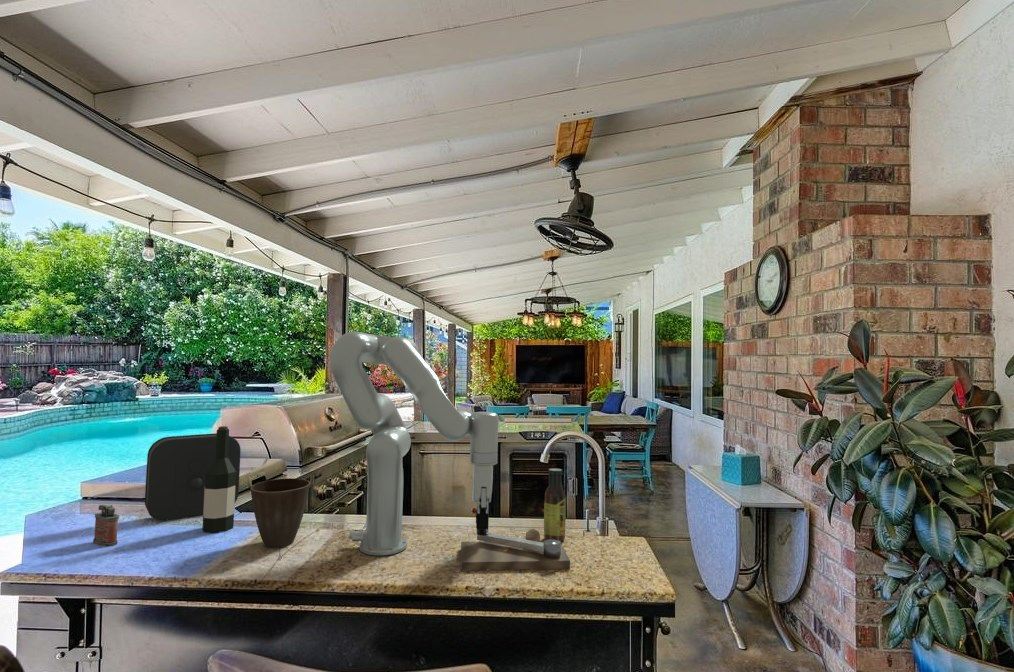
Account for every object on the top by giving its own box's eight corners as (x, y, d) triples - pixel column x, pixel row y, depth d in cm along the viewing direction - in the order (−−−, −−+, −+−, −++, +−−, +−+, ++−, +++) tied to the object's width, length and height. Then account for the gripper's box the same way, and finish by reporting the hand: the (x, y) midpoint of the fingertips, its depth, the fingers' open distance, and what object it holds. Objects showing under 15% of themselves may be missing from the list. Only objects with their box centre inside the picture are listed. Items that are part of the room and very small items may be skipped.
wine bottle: (239, 527, 149) (244, 426, 150) (210, 535, 142) (216, 429, 143) (224, 522, 153) (229, 424, 155) (195, 529, 146) (201, 426, 148)
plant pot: (284, 556, 127) (287, 493, 128) (234, 550, 131) (237, 489, 132) (318, 537, 142) (320, 480, 143) (273, 532, 145) (275, 476, 146)
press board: (460, 570, 121) (461, 545, 121) (461, 549, 135) (461, 526, 135) (570, 568, 123) (570, 544, 124) (559, 547, 137) (559, 525, 137)
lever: (563, 553, 127) (563, 514, 128) (557, 559, 123) (557, 519, 124) (480, 537, 137) (481, 502, 138) (473, 542, 133) (473, 506, 134)
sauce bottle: (564, 543, 140) (565, 472, 141) (542, 541, 142) (543, 471, 143) (566, 536, 147) (567, 468, 148) (545, 534, 148) (546, 466, 149)
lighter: (120, 543, 134) (123, 506, 135) (106, 547, 131) (108, 509, 132) (104, 538, 138) (106, 502, 138) (89, 542, 135) (91, 505, 135)
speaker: (232, 504, 172) (236, 431, 173) (238, 510, 165) (242, 434, 167) (143, 518, 155) (148, 437, 157) (146, 525, 149) (151, 441, 150)
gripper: (469, 452, 144) (467, 516, 142) (470, 463, 127) (468, 536, 126) (495, 452, 144) (493, 516, 143) (499, 463, 128) (497, 536, 127)
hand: (481, 525), depth 135 cm, fingers open, 3 cm apart
